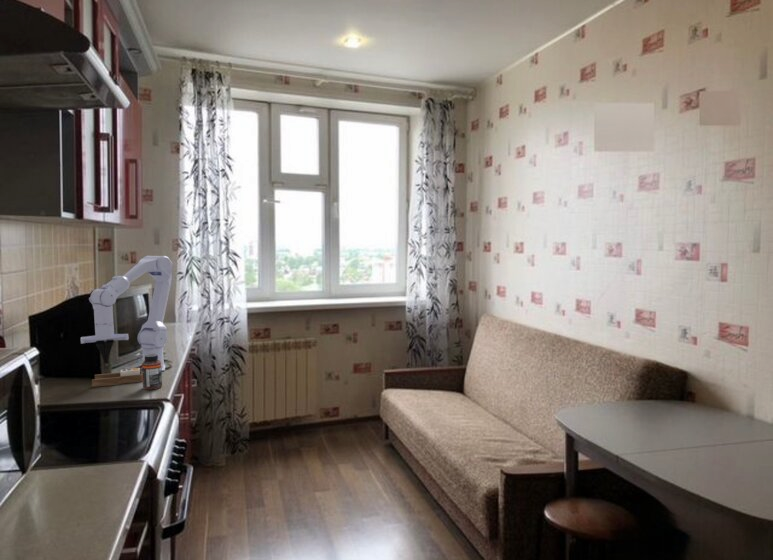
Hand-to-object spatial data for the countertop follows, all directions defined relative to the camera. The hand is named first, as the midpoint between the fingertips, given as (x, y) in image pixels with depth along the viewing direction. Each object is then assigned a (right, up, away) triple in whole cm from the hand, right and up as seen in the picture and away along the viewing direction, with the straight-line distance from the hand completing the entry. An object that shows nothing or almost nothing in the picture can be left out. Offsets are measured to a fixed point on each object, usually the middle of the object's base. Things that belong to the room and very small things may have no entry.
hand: (106, 361), depth 178 cm
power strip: (+7, -7, +4) cm, 11 cm away
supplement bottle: (+19, -8, -6) cm, 21 cm away
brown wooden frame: (+4, -7, +2) cm, 8 cm away
